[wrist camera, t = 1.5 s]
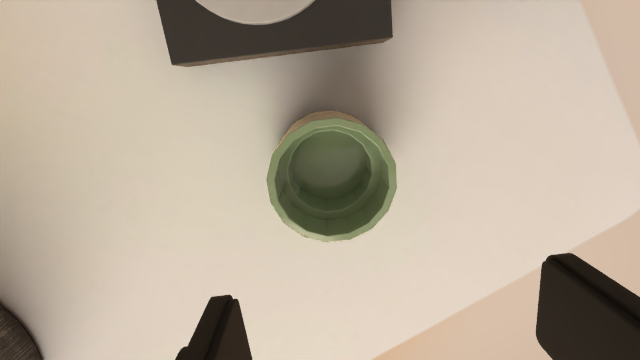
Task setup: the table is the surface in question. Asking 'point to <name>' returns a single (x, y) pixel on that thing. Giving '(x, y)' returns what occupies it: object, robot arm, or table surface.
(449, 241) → the table surface
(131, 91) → the table surface
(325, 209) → the green cup
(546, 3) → the table surface
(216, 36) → the scale
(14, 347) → the planter
